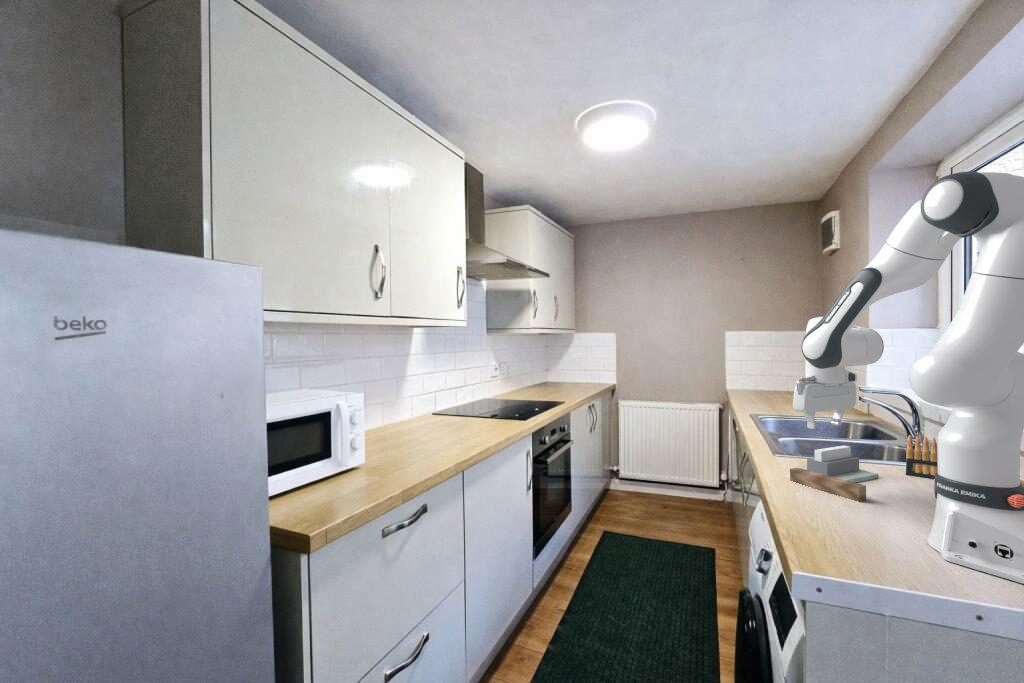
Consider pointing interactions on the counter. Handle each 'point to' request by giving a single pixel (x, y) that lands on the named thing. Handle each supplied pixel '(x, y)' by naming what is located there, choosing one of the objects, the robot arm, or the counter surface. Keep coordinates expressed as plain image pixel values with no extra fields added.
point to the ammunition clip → (921, 458)
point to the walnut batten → (829, 484)
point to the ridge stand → (838, 464)
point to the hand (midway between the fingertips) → (824, 426)
